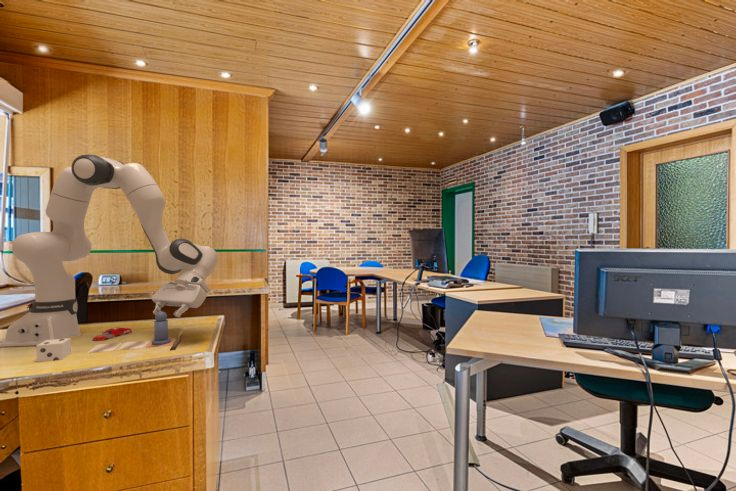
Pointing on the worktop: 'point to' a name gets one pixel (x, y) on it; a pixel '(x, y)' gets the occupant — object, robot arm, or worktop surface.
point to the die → (53, 349)
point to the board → (132, 345)
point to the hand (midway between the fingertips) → (165, 315)
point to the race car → (112, 334)
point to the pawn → (161, 329)
